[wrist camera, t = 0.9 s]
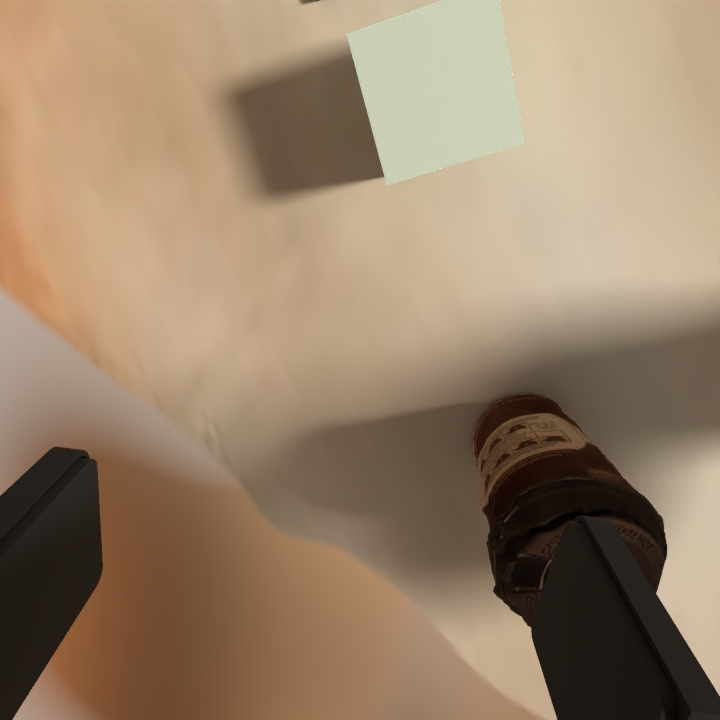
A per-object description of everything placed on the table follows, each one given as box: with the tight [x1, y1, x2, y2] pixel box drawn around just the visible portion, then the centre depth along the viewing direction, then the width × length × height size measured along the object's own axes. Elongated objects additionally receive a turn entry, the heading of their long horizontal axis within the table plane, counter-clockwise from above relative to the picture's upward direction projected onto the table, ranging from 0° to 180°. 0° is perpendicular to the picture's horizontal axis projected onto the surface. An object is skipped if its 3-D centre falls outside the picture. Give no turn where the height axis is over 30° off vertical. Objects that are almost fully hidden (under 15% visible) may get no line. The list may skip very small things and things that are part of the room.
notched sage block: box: [346, 0, 525, 186], centre depth 25 cm, size 6×6×7 cm
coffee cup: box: [472, 394, 667, 627], centre depth 30 cm, size 9×8×13 cm
